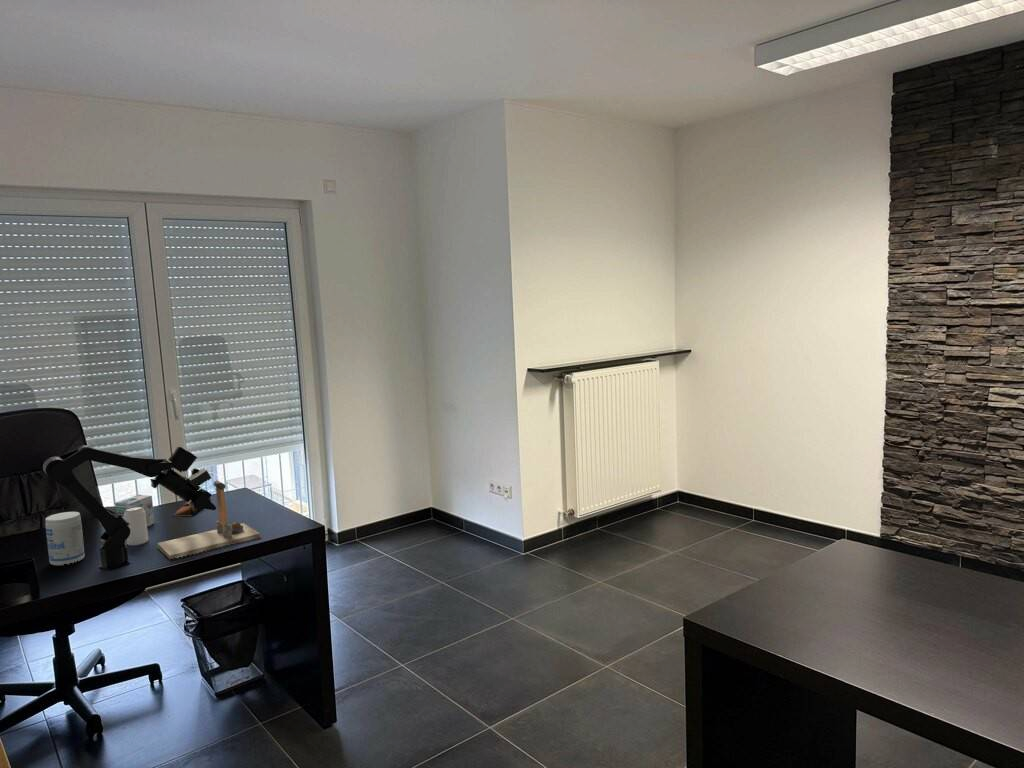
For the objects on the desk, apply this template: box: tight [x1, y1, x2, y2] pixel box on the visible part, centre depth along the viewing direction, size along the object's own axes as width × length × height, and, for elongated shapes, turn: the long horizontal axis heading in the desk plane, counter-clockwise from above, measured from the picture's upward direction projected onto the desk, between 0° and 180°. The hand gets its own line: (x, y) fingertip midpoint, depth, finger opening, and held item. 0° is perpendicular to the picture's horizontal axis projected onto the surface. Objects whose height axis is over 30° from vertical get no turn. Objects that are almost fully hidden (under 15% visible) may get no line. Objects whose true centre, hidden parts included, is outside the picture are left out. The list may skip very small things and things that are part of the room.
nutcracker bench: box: [157, 520, 261, 560], centre depth 236 cm, size 28×16×6 cm, turn 129°
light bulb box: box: [114, 494, 155, 527], centre depth 257 cm, size 11×7×11 cm, turn 161°
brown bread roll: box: [173, 497, 212, 515], centre depth 277 cm, size 18×7×7 cm
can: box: [124, 506, 149, 547], centre depth 239 cm, size 6×6×12 cm
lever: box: [213, 480, 229, 525], centre depth 238 cm, size 2×6×14 cm, turn 39°
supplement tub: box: [45, 511, 86, 566], centre depth 225 cm, size 10×10×15 cm
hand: (215, 508), depth 237 cm, fingers closed
